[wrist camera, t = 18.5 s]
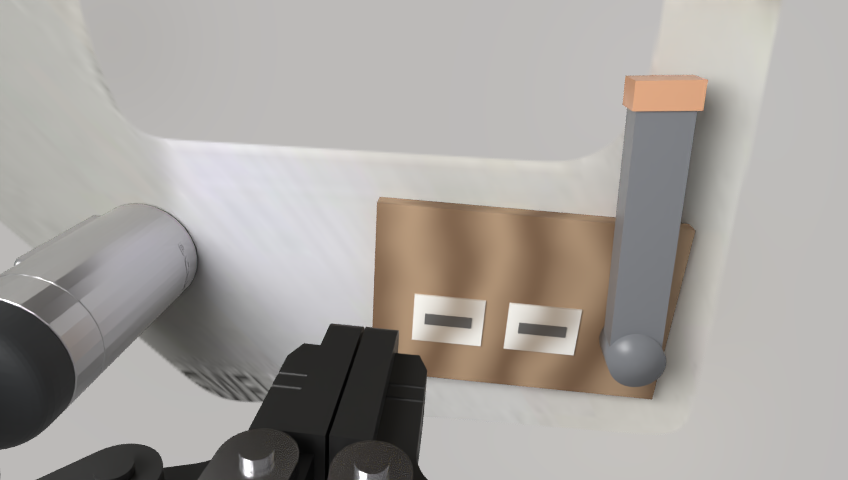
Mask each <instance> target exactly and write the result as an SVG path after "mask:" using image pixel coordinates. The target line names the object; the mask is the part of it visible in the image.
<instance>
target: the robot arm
mask: <svg viewBox="0 0 848 480" xmlns="http://www.w3.org/2000/svg"><path fill="white" fill-rule="evenodd" d="M196 269H197V255H196V250H195V246H194V244H193V242H192V239H191V237H190V236H189V234H188V233H187V231H186V230H185V228H184V227H183V226H182V225H181V224H180V223H179V222H178V221H177V220H176V219H175V218H173V217H172V216H171V215H169V214H168V213H166V212H164V211H162V210H160V209H158V208H156V207H153V206H149V205H145V204H127V205H122V206H119V207H117V208H114V209H113V210H111V211H109V212H107V213H106V214H104V215H102V216H91V217H90V218H88V219H86V220H84V221H83V222H81V223H79V224H77V225H76V226H74V227H72V228H70V229H68V230H67V231H65V232H63V233H61V234H60V235H58V236H56V237H54V238H52V239H51V240H49V241H47V242H45V243H44V244H42V245H40V246H38V247H36V248H35V249H33V250H31V251H30V252H28V253H26V254H24V255H22V256H20V257H19V258H18V259H16V261H15V263H14V267H12V268H10V269H8V270H7V271H5V272H3V273H2V274H0V450H1V449H7V448H11V447H15V446H18V445H20V444H23V443H25V442H27V441H29V440H31V439H33V438H34V437H36V436H37V435H39V434H40V433H41V432H42V431H44V430H45V429H46V428H47V427H48V426H49V425H50V424H51V423H52V422H53V421H54V420H55V419H56V418H57V417H58V416H59V415H60V414H61V413H62V412H63V411H64V410H65V409H66V408H67V407H68V406H69V405H70V404H71V403H72V402H73V401H74V400H75V399H76V398H77V397H78V396H79V395H80V394H81V393H82V392H83V391H84V390H85V389H86V388H87V387H88V386H89V385H90V384H91V383H92V382H93V381H94V380H95V379H96V378H97V377H98V376H99V375H100V374H101V373H102V372H103V371H104V370H105V369H106V368H107V367H108V366H109V365H110V364H111V363H112V362H113V361H114V360H115V359H116V358H117V357H118V356H119V355H120V354H121V353H122V352H123V351H124V350H125V349H126V348H127V347H128V346H129V345H130V344H131V343H132V342H133V341H134V340H135V339H136V338H137V337H138V336H139V335H140V334H141V333H142V332H143V331H144V330H145V329H146V328H147V327H148V326H149V325H150V324H151V323H152V322H153V321H154V320H155V319H156V318H157V317H158V316H159V315H160V314H161V313H162V312H163V311H164V310H165V309H166V308H167V307H168V306H169V305H170V304H171V303H172V302H173V301H174V300H175V299H176V298H177V297H178V296H179V295H180V294H181V293H182V292H183V291H184V290H185V289H186V288H187V287H188V286H189V285H190V284H191V282H192V280H193V278H194V277H195V273H196ZM398 345H399V330H391V329H382V328H372V327H366V328H365V329H364V327H361V326H351V325H341V324H330V326H329V328H328V330H327V332H326V334H325V337H324V339H323V341H322V343H321V345H314V344H305V343H304V344H303V345H301V346H300V347H299V348H297V349H296V350H295V351H293V352H292V353H291V354H289V355H288V356H287V358H286V360H285V361H284V363H283V365H282V367H281V369H280V371H279V374H278V375H277V377H276V379H275V380H274V382H273V386H272V387H271V388H270V390H269V392H268V394H267V396H266V398H265V399H264V401H263V403H262V406H261V407H260V409H259V411H258V413H257V415H256V416H255V418H254V420H253V422H252V424H251V426H250V428H249V430H248V431H245V432H242V433H239V434H237V435H235V436H233V437H232V438H230V439H228V440H227V441H226V442H225V443H224V444H222V446H221V447H220V448H219V449H218V450H217V452H216V453H215V455H214V456H213V458H212V459H211V460H209V461H206V462H201V463H197V464H189V465H181V466H174V467H166V468H163V462H162V459H161V456H160V455H159V453H158V452H156V451H155V450H154V449H152V448H151V447H148V446H145V445H140V444H121V445H116V446H112V447H109V448H105V449H103V450H100V451H98V452H96V453H93V454H91V455H89V456H87V457H85V458H82V459H81V460H78V461H76V462H74V463H72V464H70V465H67V466H65V467H63V468H61V469H58V470H56V471H54V472H52V473H50V474H48V475H46V476H43V477H41V478H39V479H37V480H427V479H426V477H424V475H423V474H422V472H421V470H420V468H419V466H418V459H419V451H420V444H421V435H422V426H423V416H424V404H425V392H426V381H427V369H426V367H425V365H424V363H423V361H422V359H421V357H420V355H411V354H402V353H398Z"/></svg>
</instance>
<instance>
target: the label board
mask: <svg viewBox="0 0 848 480" xmlns="http://www.w3.org/2000/svg"><path fill="white" fill-rule="evenodd" d="M615 220H616V218H615V217H604V216H592V215H581V214H570V213H558V212H547V211H535V210H524V209H512V208H501V207H489V206H478V205H466V204H455V203H443V202H432V201H420V200H409V199H397V198H386V197H380V198H379V200H378V202H377V221H376V248H375V275H374V303H373V328H382V329H391V330H399V345H398V353H402V354H411V355H420V357H421V359H422V361H423V363H424V365H425V367H426V369H427V376H428V377H438V378H448V379H457V380H467V381H477V382H487V383H497V384H507V385H516V386H526V387H536V388H546V389H556V390H566V391H575V392H585V393H595V394H605V395H615V396H625V397H634V398H644V399H652V397H653V393H654V390H655V386H656V382H657V380H655V381H654V382H652V383H650V384H648V385H645V386H642V387H629V386H625V385H622V384H620V383H618V382H617V381H616V380H614V378H613V377H612V376H611V374H610V372H609V369H608V367H607V364H606V361H605V358H604V356H603V353H602V350H601V347H600V344H599V336H600V333H601V331H602V329H603V327H604V325H605V315H606V306H607V296H608V287H609V277H610V268H611V258H612V249H613V239H614V230H615ZM694 234H695V230H694V229H693V228H692V227H691V226H690V224H684V223H681V224H680V231H679V237H678V244H677V251H676V257H675V264H674V271H673V277H672V284H671V291H670V297H669V304H668V311H667V317H666V324H665V331H664V338H663V344H662V350H663V351H665V347H666V343H667V339H668V335H669V331H670V327H671V324H672V320H673V316H674V312H675V308H676V304H677V300H678V296H679V292H680V289H681V285H682V281H683V277H684V273H685V269H686V265H687V261H688V258H689V254H690V250H691V246H692V242H693V238H694Z"/></svg>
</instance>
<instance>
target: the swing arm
mask: <svg viewBox="0 0 848 480" xmlns="http://www.w3.org/2000/svg"><path fill="white" fill-rule="evenodd" d="M707 82H708V80H707V79H704V78H701V77H698V76H695V75H649V76H626V78H625V87H624V98H623V105H624V106H625V107H627V116H626V125H625V135H624V144H623V154H622V163H621V173H620V182H619V192H618V201H617V211H616V220H615V230H614V239H613V249H612V258H611V268H610V277H609V287H608V296H607V306H606V315H605V325H604V327H603V329H602V331H601V333H600V336H599V344H600V347H601V350H602V353H603V356H604V358H605V361H606V364H607V367H608V369H609V372H610V374H611V376H612V377H613V378H614V380H616V381H617V382H618V383H620V384H622V385H625V386H629V387H642V386H645V385H648V384H650V383H652V382H654V381H655V380H657V379H658V378H659V377H660V376H661V375H662V373H663V371H664V369H665V366H666V356H665V354H664V351H663V350H662V344H663V338H664V331H665V324H666V317H667V311H668V304H669V297H670V291H671V284H672V277H673V271H674V264H675V257H676V251H677V244H678V237H679V231H680V224H681V217H682V210H683V204H684V197H685V190H686V184H687V177H688V170H689V164H690V157H691V150H692V144H693V137H694V130H695V123H696V117H697V111H703V109H704V102H705V96H706V89H707Z"/></svg>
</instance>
